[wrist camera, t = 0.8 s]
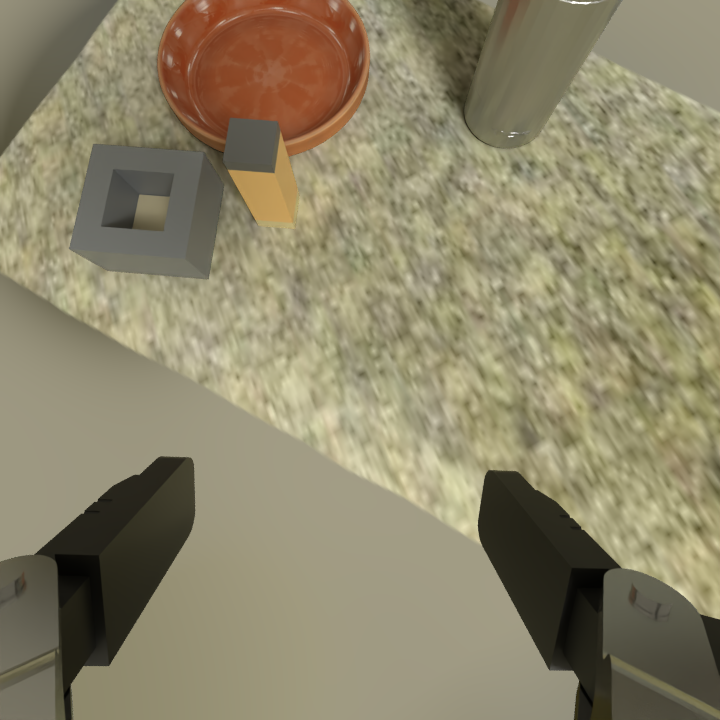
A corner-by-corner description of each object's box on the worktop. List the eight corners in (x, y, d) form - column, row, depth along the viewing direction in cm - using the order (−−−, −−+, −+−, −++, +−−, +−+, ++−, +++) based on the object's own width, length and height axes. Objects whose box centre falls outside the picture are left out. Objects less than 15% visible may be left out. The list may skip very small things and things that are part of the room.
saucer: (253, -27, 44) (243, -67, 41) (407, 60, 42) (411, 26, 38) (134, 107, 42) (112, 77, 38) (292, 208, 39) (284, 187, 36)
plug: (263, 192, 39) (230, 117, 30) (299, 195, 39) (277, 121, 29) (258, 226, 39) (222, 161, 29) (295, 228, 39) (271, 164, 29)
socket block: (127, 177, 40) (93, 143, 35) (224, 184, 40) (203, 151, 35) (107, 270, 38) (69, 249, 33) (208, 279, 38) (185, 258, 33)
